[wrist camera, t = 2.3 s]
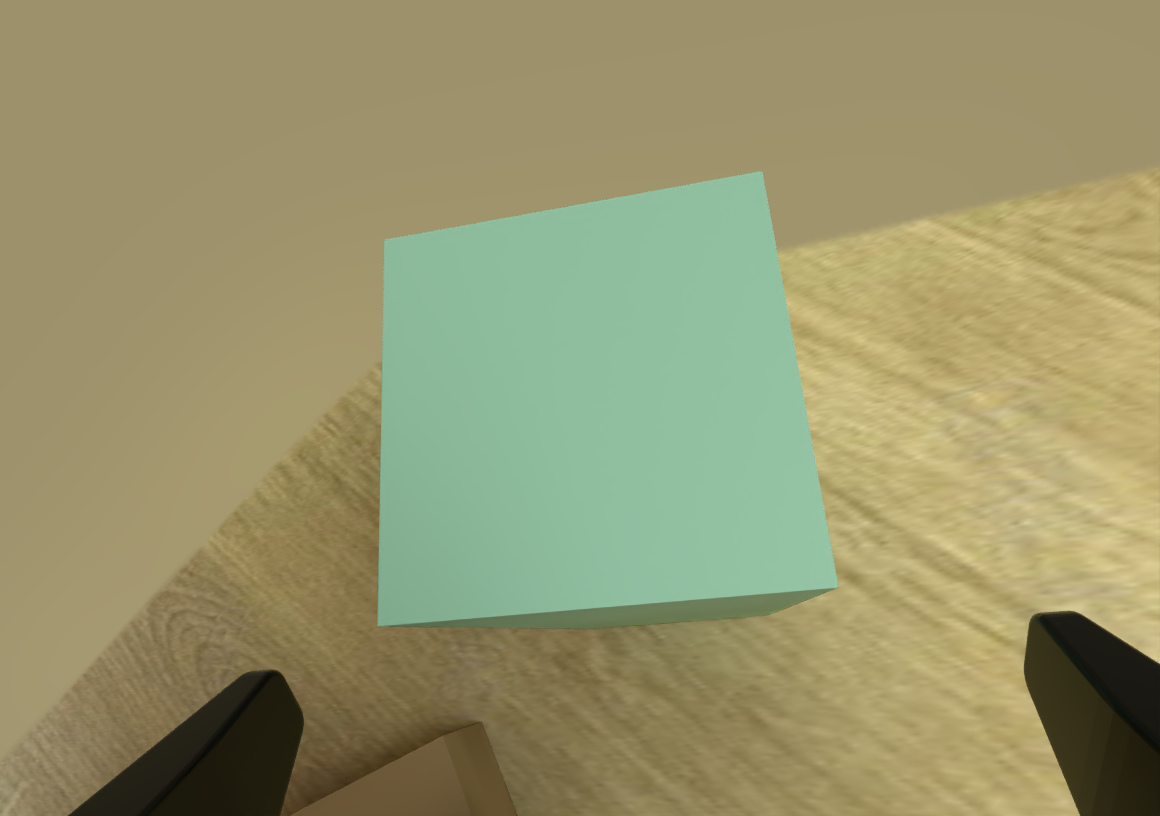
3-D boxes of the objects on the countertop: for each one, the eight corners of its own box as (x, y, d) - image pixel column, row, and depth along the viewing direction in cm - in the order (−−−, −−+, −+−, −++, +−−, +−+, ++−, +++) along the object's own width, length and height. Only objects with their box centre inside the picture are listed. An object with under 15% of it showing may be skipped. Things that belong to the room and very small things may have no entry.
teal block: (768, 614, 18) (837, 587, 6) (592, 629, 18) (377, 626, 7) (742, 442, 19) (762, 171, 8) (579, 461, 20) (384, 240, 9)
